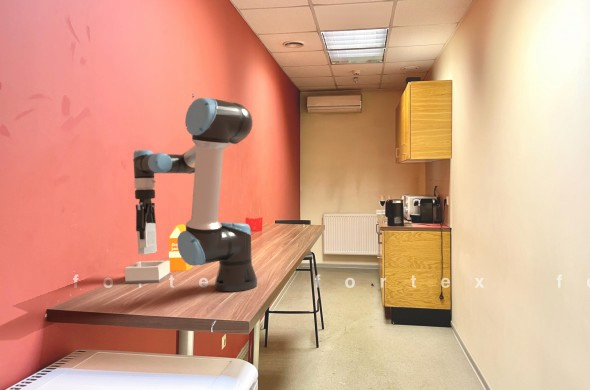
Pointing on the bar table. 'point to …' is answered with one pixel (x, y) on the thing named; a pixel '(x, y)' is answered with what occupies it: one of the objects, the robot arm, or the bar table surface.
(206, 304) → the bar table surface
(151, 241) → the skincare box
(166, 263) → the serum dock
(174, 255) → the orange juice
